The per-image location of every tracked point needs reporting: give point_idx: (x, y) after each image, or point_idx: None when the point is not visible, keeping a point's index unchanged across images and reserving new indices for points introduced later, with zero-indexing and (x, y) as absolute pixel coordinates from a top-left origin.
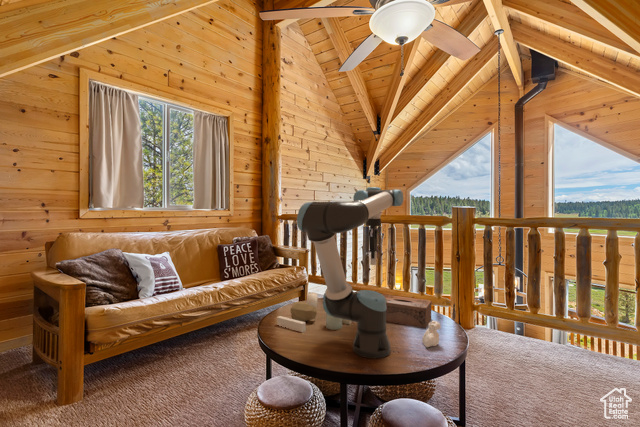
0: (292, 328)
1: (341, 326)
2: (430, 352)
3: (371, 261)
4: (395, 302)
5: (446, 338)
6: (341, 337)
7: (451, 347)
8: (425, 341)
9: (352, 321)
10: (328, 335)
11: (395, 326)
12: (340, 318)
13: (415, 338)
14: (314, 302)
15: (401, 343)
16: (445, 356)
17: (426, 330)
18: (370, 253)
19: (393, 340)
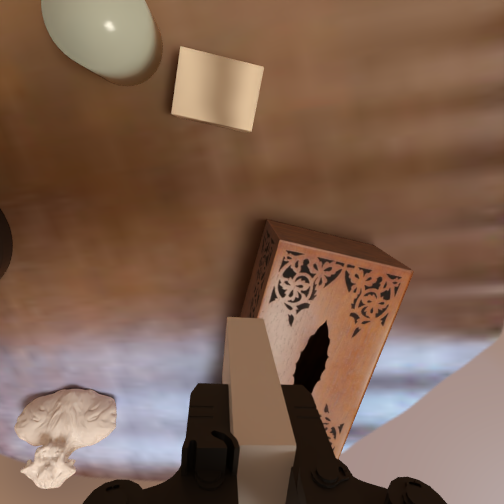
0: None
1: (115, 83)
2: (15, 404)
3: (226, 352)
4: (274, 335)
5: (146, 444)
6: (10, 103)
7: (79, 453)
8: (35, 405)
9: (210, 124)
10: (6, 37)
11: (206, 300)
12: (92, 71)
13: (111, 365)
14: None
15: (49, 326)
16: (5, 437)
17: (97, 418)
18: (231, 422)
19: (65, 300)
